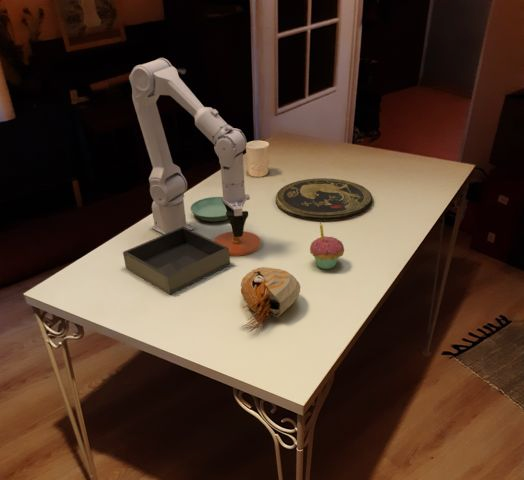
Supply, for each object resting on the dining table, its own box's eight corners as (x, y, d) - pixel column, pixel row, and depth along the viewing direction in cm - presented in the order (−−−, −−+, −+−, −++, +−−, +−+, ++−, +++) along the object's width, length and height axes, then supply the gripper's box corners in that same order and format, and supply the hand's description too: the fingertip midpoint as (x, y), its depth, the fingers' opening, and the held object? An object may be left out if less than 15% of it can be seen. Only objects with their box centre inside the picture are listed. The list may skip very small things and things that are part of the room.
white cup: (243, 176, 194) (242, 147, 187) (250, 168, 199) (249, 139, 193) (265, 178, 192) (265, 149, 185) (272, 170, 197) (271, 141, 191)
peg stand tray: (125, 268, 146) (122, 252, 143) (185, 242, 156) (183, 226, 153) (170, 294, 135) (167, 277, 132) (230, 264, 146) (229, 248, 143)
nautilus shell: (272, 346, 119) (212, 331, 125) (313, 291, 133) (257, 280, 139) (268, 316, 114) (206, 302, 120) (311, 262, 128) (253, 252, 134)
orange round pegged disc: (203, 245, 155) (200, 220, 150) (238, 229, 162) (236, 205, 157) (235, 261, 147) (234, 235, 143) (270, 243, 154) (269, 218, 150)
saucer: (241, 204, 176) (241, 195, 174) (238, 224, 164) (238, 216, 162) (194, 204, 176) (193, 196, 175) (188, 225, 165) (187, 217, 163)
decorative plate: (375, 216, 161) (271, 214, 164) (375, 222, 163) (271, 220, 165) (370, 178, 185) (279, 177, 188) (369, 183, 186) (279, 182, 189)
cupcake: (315, 274, 141) (317, 230, 133) (304, 259, 147) (305, 216, 140) (348, 269, 142) (351, 225, 135) (335, 254, 149) (338, 211, 141)
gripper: (253, 190, 138) (255, 240, 146) (244, 169, 149) (246, 217, 158) (224, 192, 137) (228, 243, 146) (217, 171, 149) (221, 219, 157)
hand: (236, 229), depth 152 cm, fingers open, 7 cm apart
